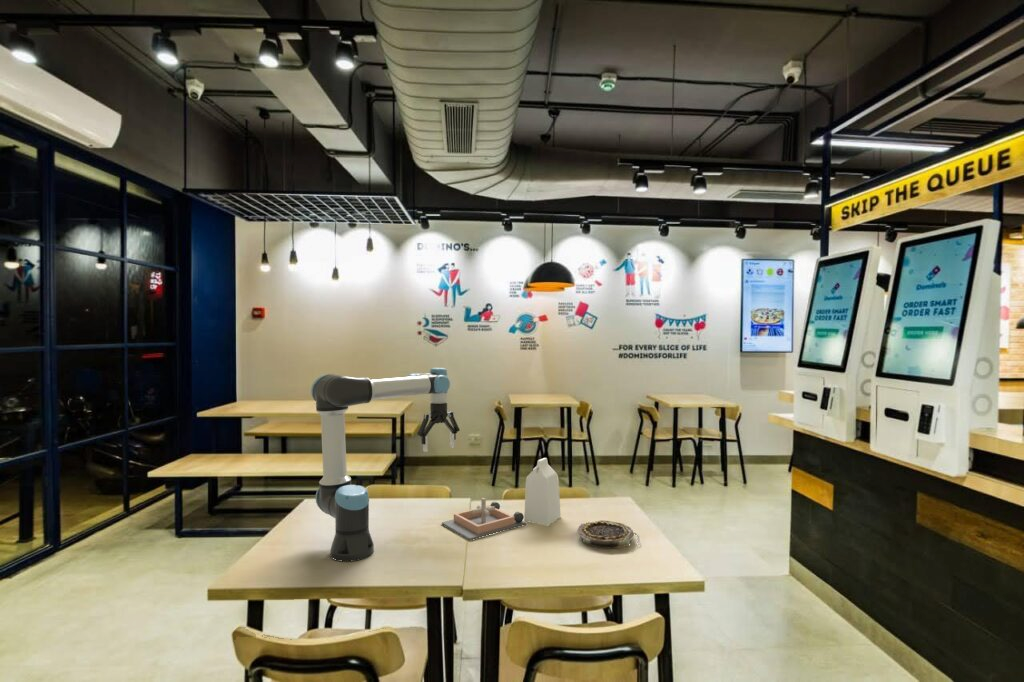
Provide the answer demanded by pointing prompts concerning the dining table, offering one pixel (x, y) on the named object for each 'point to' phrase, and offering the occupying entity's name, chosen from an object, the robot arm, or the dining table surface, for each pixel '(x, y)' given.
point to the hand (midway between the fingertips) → (438, 449)
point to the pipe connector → (483, 510)
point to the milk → (542, 495)
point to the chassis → (472, 525)
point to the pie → (606, 534)
